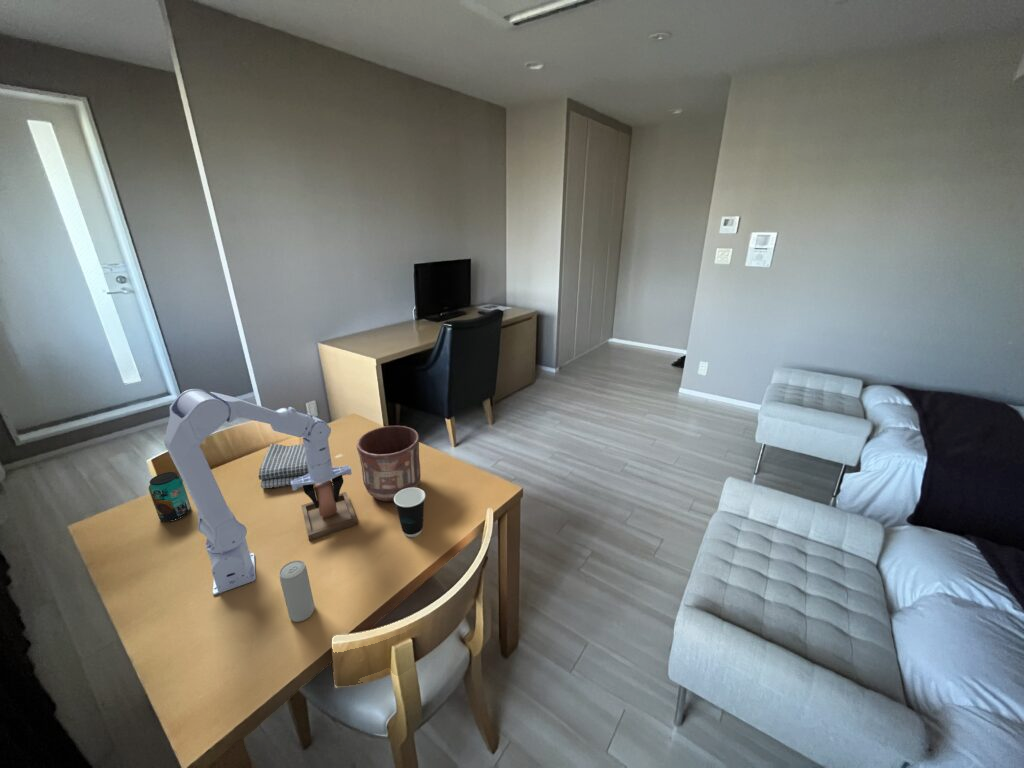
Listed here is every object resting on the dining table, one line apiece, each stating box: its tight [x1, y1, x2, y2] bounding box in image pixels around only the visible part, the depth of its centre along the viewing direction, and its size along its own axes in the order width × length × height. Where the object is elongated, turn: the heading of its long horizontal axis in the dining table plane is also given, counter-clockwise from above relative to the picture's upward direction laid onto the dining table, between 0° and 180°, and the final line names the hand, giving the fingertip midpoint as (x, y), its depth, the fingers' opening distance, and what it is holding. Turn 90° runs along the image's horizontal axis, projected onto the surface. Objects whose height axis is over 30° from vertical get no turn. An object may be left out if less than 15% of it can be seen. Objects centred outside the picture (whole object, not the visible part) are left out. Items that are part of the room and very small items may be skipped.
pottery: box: [356, 425, 421, 503], centre depth 121 cm, size 18×18×18 cm
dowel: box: [313, 479, 337, 517], centre depth 110 cm, size 4×4×9 cm
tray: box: [300, 491, 358, 542], centre depth 112 cm, size 14×12×2 cm
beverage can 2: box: [278, 560, 316, 623], centre depth 83 cm, size 5×5×12 cm
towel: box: [258, 443, 309, 489], centre depth 132 cm, size 15×18×8 cm
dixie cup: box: [393, 487, 426, 538], centre depth 106 cm, size 8×8×11 cm
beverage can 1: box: [148, 471, 192, 522], centre depth 111 cm, size 7×7×12 cm
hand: (326, 502), depth 111 cm, fingers closed on dowel, 4 cm apart
